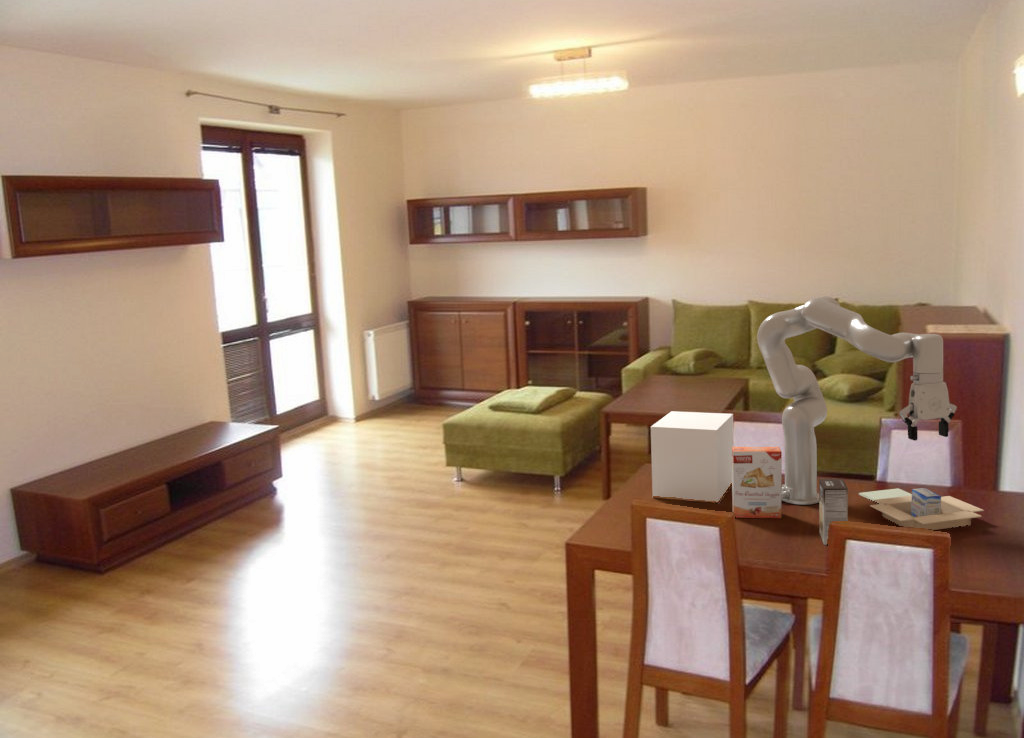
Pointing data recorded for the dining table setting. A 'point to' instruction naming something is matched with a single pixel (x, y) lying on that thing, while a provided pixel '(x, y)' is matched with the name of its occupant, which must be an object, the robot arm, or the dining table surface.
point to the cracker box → (756, 482)
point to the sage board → (884, 494)
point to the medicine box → (925, 502)
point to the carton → (951, 515)
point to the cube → (692, 455)
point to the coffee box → (831, 504)
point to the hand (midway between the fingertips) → (928, 437)
